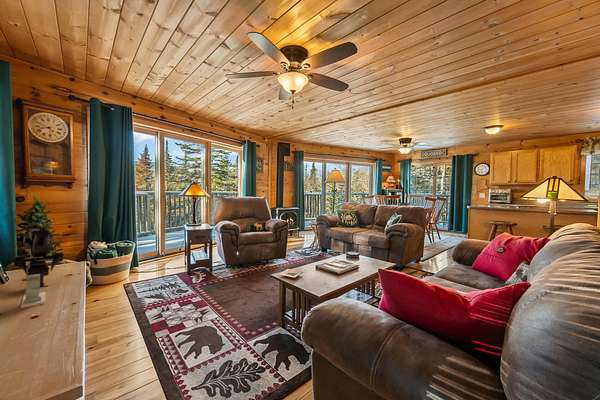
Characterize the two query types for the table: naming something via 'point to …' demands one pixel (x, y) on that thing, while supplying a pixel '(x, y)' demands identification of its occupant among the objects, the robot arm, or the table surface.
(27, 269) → the robot arm
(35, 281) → the post
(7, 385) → the table surface
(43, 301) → the baseplate
